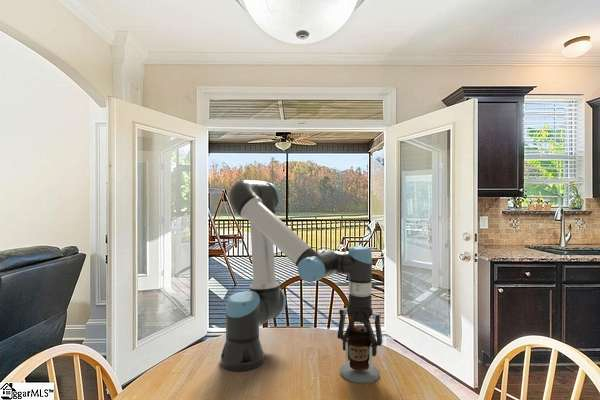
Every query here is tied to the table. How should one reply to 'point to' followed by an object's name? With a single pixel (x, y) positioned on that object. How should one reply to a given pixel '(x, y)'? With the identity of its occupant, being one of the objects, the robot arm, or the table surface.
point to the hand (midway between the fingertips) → (359, 362)
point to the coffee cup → (359, 347)
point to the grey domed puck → (359, 374)
